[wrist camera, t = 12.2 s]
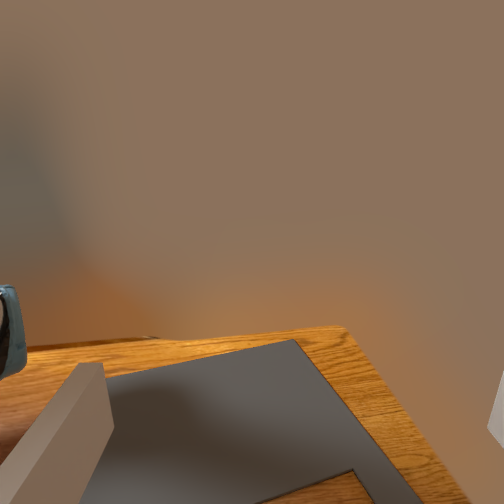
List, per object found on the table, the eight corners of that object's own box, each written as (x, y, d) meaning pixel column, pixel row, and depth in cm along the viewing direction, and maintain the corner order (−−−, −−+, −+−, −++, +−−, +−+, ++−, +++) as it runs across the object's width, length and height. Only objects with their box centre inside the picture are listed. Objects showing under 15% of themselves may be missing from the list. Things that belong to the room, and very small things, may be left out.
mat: (71, 387, 57) (71, 385, 57) (293, 340, 69) (293, 339, 69) (-145, 1325, 12) (-150, 1326, 12) (590, 720, 24) (592, 717, 24)
